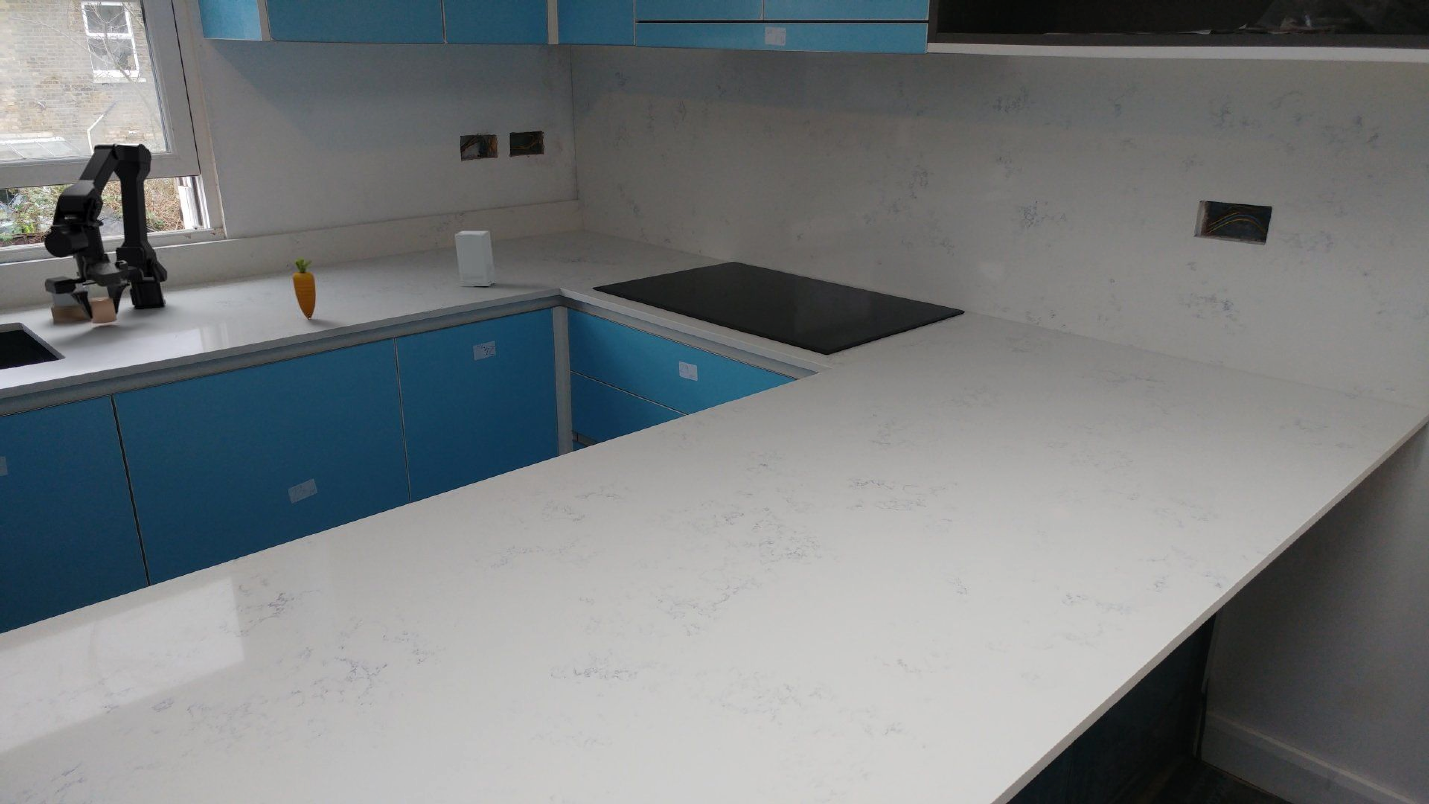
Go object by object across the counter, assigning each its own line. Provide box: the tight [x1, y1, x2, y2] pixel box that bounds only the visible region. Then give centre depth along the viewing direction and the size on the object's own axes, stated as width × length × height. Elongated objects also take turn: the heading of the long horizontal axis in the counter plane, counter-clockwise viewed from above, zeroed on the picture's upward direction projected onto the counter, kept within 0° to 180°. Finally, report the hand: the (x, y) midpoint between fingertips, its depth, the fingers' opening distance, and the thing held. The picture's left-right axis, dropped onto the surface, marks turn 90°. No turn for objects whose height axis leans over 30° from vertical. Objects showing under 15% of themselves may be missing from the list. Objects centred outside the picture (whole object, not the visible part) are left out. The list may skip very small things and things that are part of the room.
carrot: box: [292, 257, 317, 320], centre depth 224 cm, size 5×5×15 cm
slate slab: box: [51, 285, 93, 307], centre depth 223 cm, size 6×6×4 cm
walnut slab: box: [50, 297, 94, 324], centre depth 225 cm, size 8×8×4 cm
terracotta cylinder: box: [88, 296, 118, 325], centre depth 217 cm, size 5×5×5 cm
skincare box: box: [454, 230, 496, 287], centre depth 260 cm, size 8×6×15 cm
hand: (103, 316), depth 218 cm, fingers closed on terracotta cylinder, 5 cm apart
